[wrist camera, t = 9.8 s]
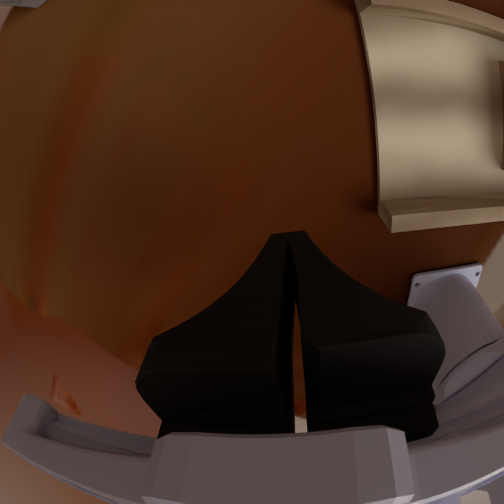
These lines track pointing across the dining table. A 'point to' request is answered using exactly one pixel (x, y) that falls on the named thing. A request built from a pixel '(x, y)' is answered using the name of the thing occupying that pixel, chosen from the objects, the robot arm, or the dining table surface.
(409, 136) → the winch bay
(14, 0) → the coffee box
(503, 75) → the beige square tray
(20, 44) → the dining table surface
